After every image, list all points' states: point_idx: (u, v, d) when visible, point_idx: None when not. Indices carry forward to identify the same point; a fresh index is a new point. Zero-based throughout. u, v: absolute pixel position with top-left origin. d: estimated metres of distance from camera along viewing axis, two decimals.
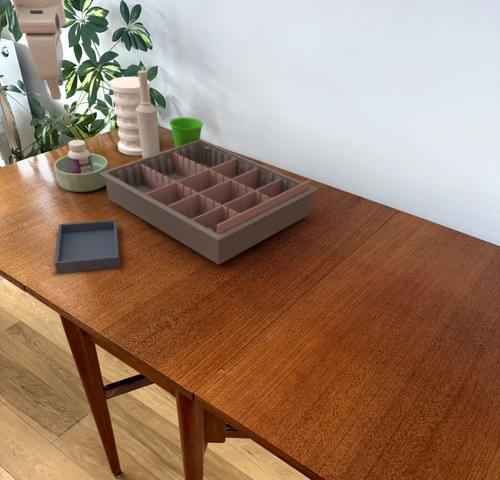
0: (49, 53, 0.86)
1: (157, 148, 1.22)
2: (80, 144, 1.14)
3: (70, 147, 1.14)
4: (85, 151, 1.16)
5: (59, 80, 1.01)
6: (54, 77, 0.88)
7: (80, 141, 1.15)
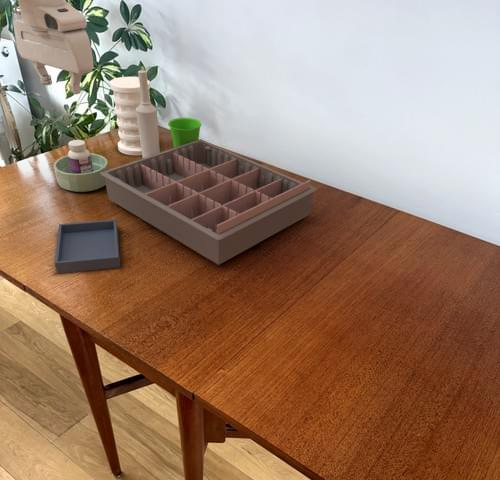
0: (87, 47, 0.92)
1: (157, 148, 1.22)
2: (80, 144, 1.14)
3: (70, 147, 1.14)
4: (85, 151, 1.16)
5: (49, 79, 1.03)
6: (91, 69, 0.95)
7: (80, 141, 1.15)
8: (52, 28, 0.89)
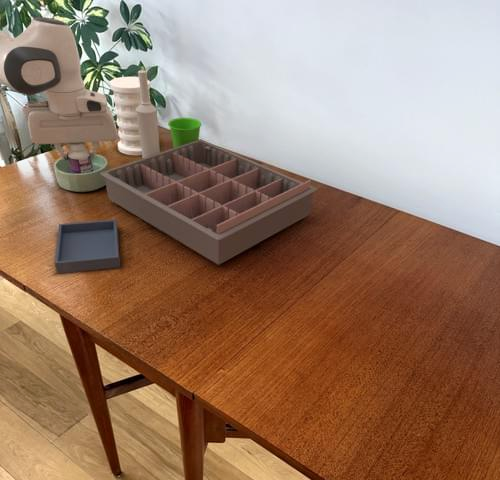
0: (113, 118, 1.14)
1: (157, 148, 1.22)
2: (80, 144, 1.14)
3: (70, 147, 1.14)
4: (85, 151, 1.16)
5: (67, 154, 1.16)
6: None
7: None
8: (95, 110, 1.08)
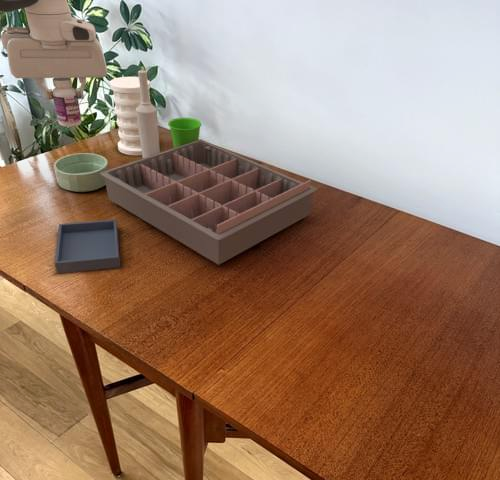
0: (102, 51, 1.03)
1: (157, 148, 1.22)
2: (66, 80, 1.03)
3: (54, 83, 1.03)
4: (71, 89, 1.05)
5: None
6: None
7: (66, 78, 1.05)
8: (82, 39, 0.97)
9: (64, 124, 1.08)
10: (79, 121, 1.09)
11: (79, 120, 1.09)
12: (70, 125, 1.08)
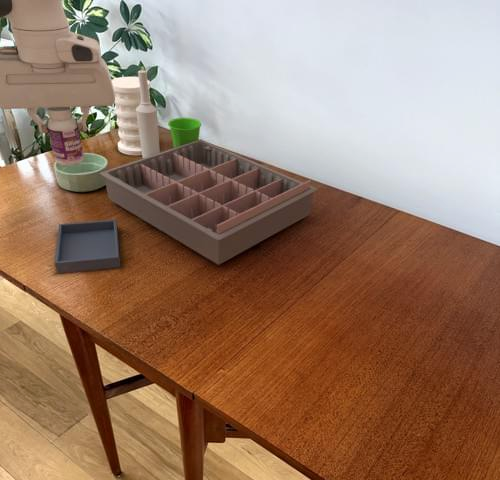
0: (109, 74, 0.83)
1: (157, 148, 1.22)
2: (64, 110, 0.83)
3: (50, 114, 0.83)
4: (71, 120, 0.85)
5: None
6: None
7: None
8: (83, 60, 0.77)
9: (62, 162, 0.88)
10: (80, 158, 0.89)
11: (81, 157, 0.89)
12: (70, 163, 0.88)
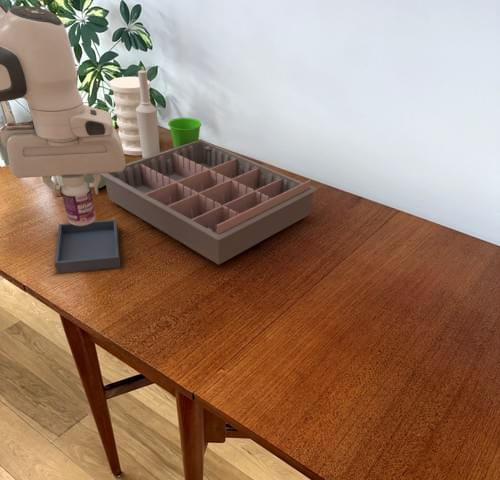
0: (120, 142, 0.87)
1: (157, 148, 1.22)
2: (77, 176, 0.87)
3: (64, 181, 0.87)
4: (83, 185, 0.89)
5: (60, 189, 0.89)
6: None
7: None
8: (96, 134, 0.81)
9: (75, 223, 0.92)
10: (92, 218, 0.93)
11: (93, 217, 0.93)
12: (82, 224, 0.92)
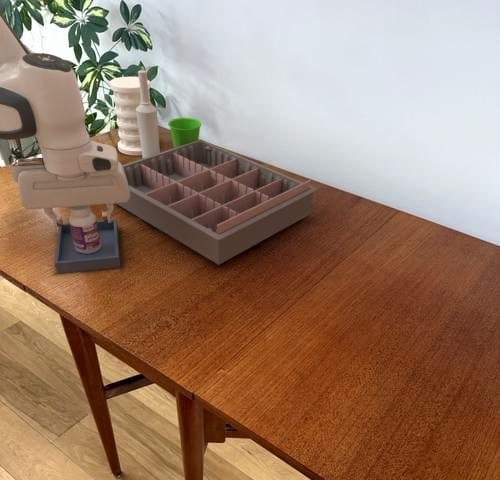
0: (125, 174, 0.91)
1: (157, 148, 1.22)
2: (84, 209, 0.91)
3: (71, 212, 0.91)
4: (90, 216, 0.93)
5: (61, 219, 0.93)
6: None
7: None
8: (103, 169, 0.85)
9: (82, 251, 0.96)
10: (98, 246, 0.97)
11: (98, 245, 0.97)
12: (89, 252, 0.96)
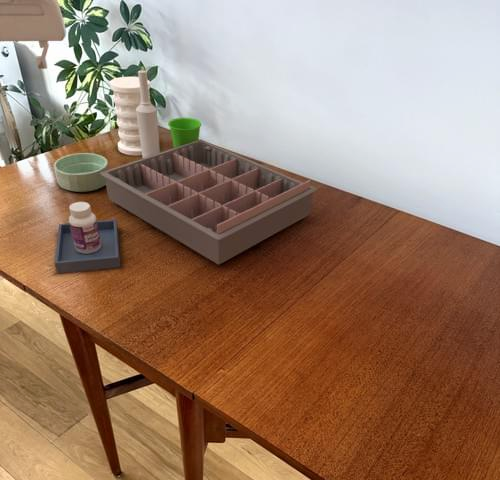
0: (59, 8, 0.83)
1: (157, 148, 1.22)
2: (84, 209, 0.91)
3: (71, 212, 0.91)
4: (90, 216, 0.93)
5: None
6: None
7: (84, 204, 0.93)
8: None
9: (82, 251, 0.96)
10: (98, 246, 0.97)
11: (98, 245, 0.97)
12: (89, 252, 0.96)
